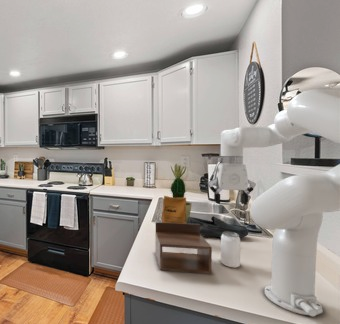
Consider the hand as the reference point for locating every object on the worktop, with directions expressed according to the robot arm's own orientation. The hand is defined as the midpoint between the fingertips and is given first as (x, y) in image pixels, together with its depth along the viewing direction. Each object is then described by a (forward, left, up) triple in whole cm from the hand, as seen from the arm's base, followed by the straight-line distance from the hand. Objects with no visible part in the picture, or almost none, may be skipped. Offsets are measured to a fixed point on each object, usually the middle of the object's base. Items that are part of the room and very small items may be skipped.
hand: (230, 203), depth 89 cm
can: (-2, +1, -24) cm, 24 cm away
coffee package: (+21, +18, -24) cm, 36 cm away
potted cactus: (+40, +12, -24) cm, 48 cm away
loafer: (+29, -6, -24) cm, 38 cm away
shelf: (-4, +20, -24) cm, 31 cm away
